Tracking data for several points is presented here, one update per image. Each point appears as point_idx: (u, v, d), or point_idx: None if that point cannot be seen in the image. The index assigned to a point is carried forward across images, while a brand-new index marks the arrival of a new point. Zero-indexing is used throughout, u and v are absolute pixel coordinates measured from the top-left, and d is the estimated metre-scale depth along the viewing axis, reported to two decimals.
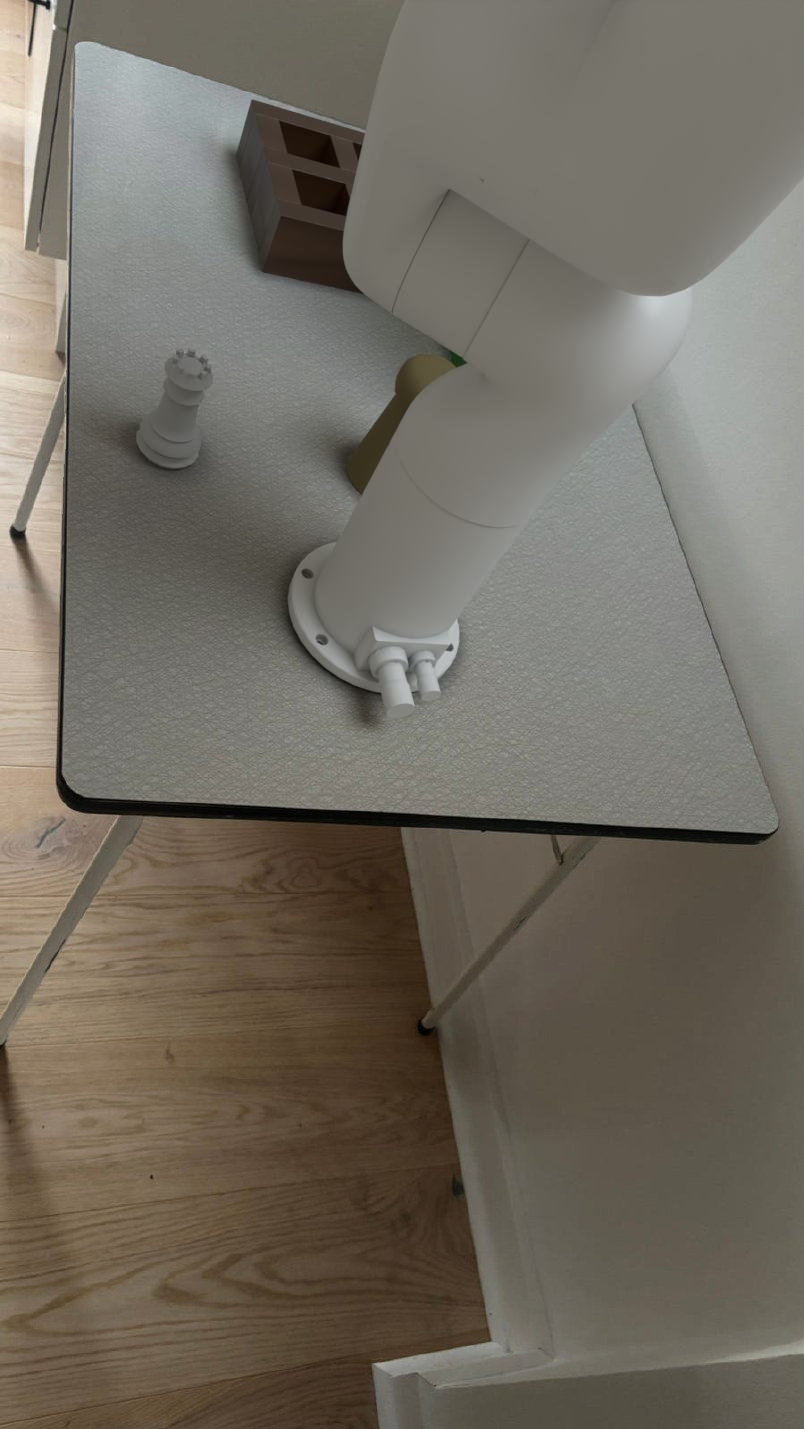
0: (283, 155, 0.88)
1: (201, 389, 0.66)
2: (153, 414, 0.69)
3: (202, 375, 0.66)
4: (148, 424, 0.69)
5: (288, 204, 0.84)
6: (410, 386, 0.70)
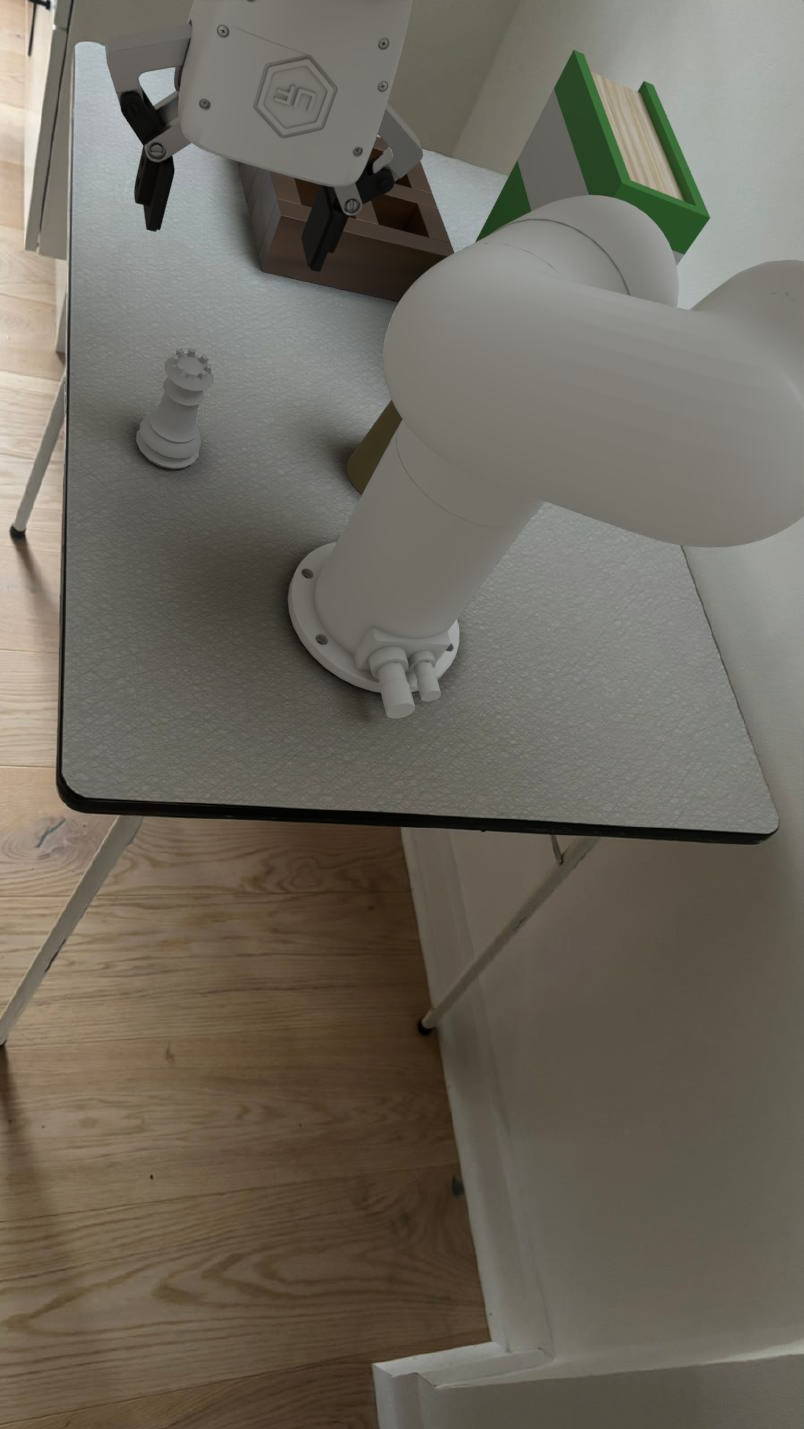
0: None
1: (201, 389, 0.66)
2: (153, 414, 0.69)
3: (202, 375, 0.66)
4: (148, 424, 0.69)
5: (288, 204, 0.84)
6: None
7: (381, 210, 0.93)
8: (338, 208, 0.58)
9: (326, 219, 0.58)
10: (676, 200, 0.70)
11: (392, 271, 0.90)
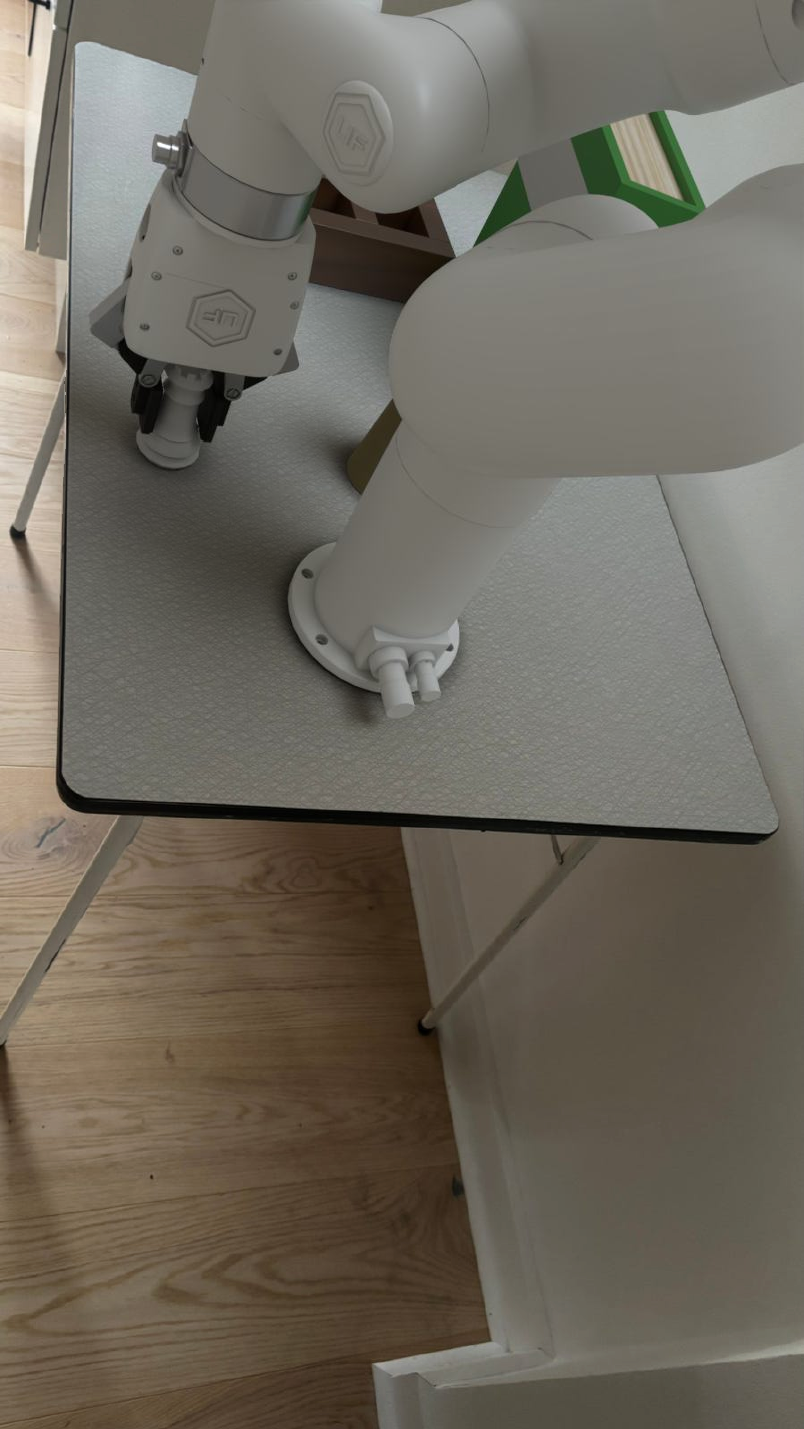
0: None
1: (201, 389, 0.66)
2: None
3: (202, 375, 0.66)
4: None
5: None
6: None
7: None
8: (222, 394, 0.67)
9: (212, 404, 0.68)
10: (676, 200, 0.70)
11: (392, 271, 0.90)
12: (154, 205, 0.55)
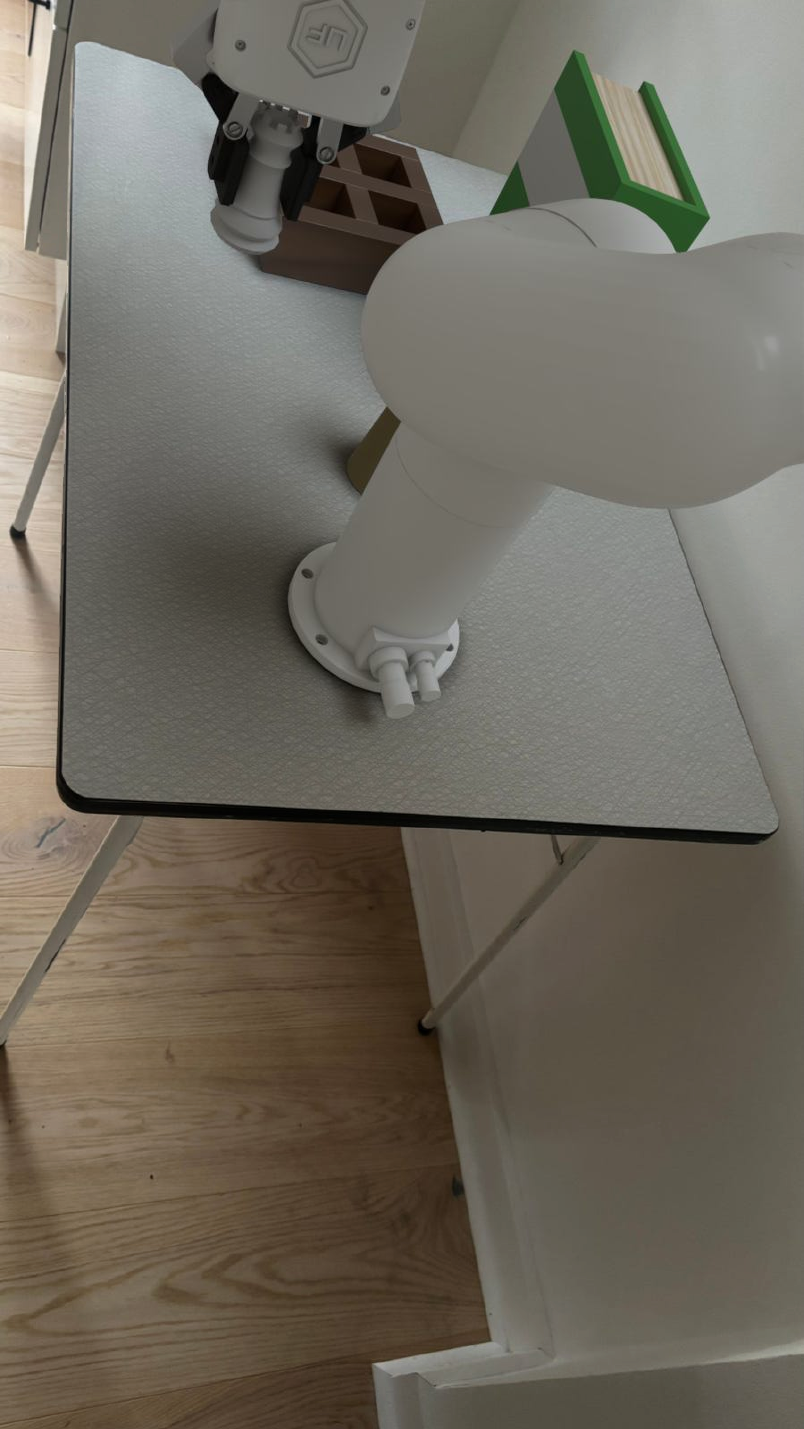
0: None
1: (291, 145, 0.58)
2: None
3: (293, 127, 0.57)
4: None
5: None
6: None
7: (381, 210, 0.93)
8: (313, 157, 0.59)
9: (301, 168, 0.59)
10: (676, 200, 0.70)
11: None
12: None
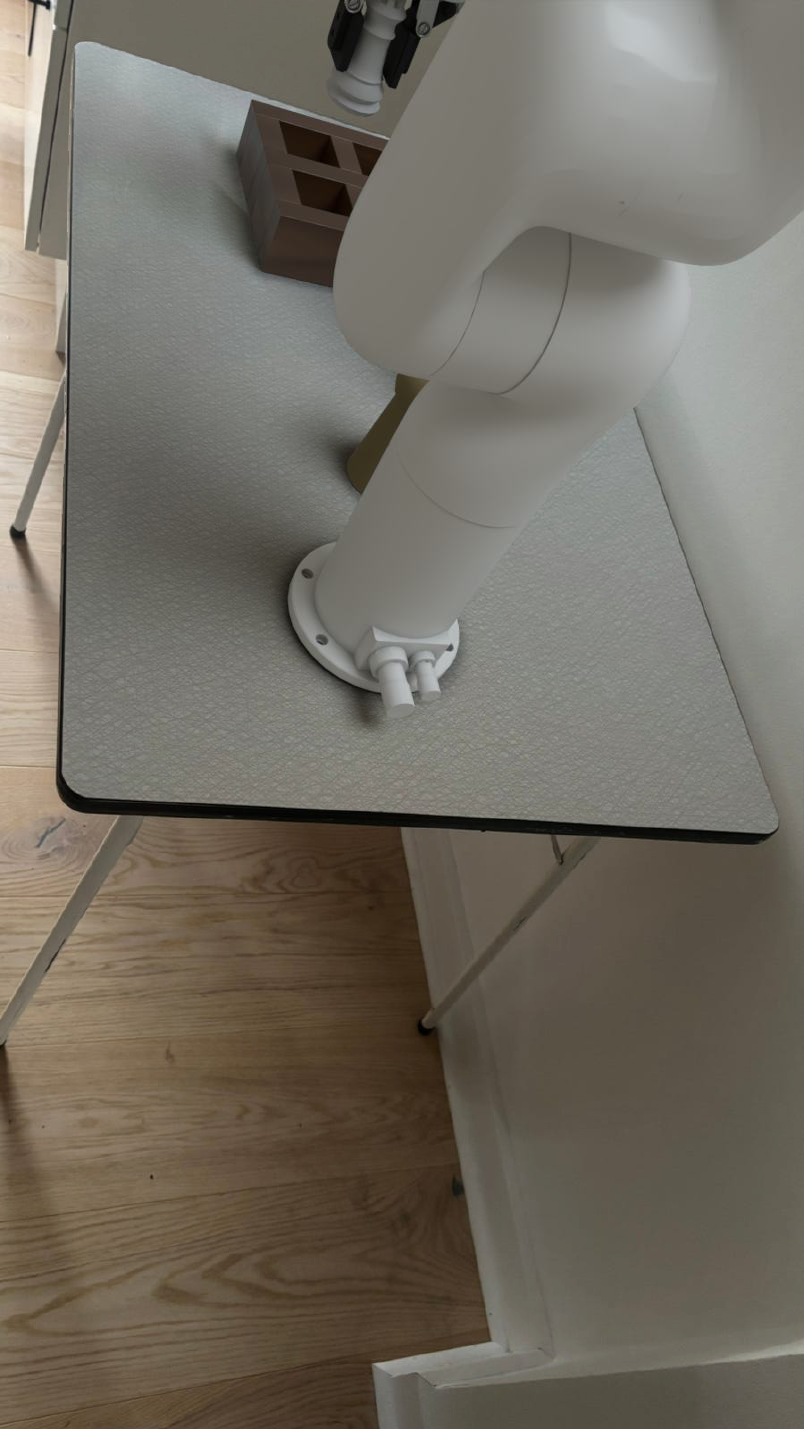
0: (283, 155, 0.88)
1: (397, 18, 0.72)
2: None
3: (400, 3, 0.72)
4: None
5: (288, 204, 0.84)
6: (410, 386, 0.70)
7: None
8: (412, 31, 0.74)
9: (403, 40, 0.74)
10: None
11: None
12: None
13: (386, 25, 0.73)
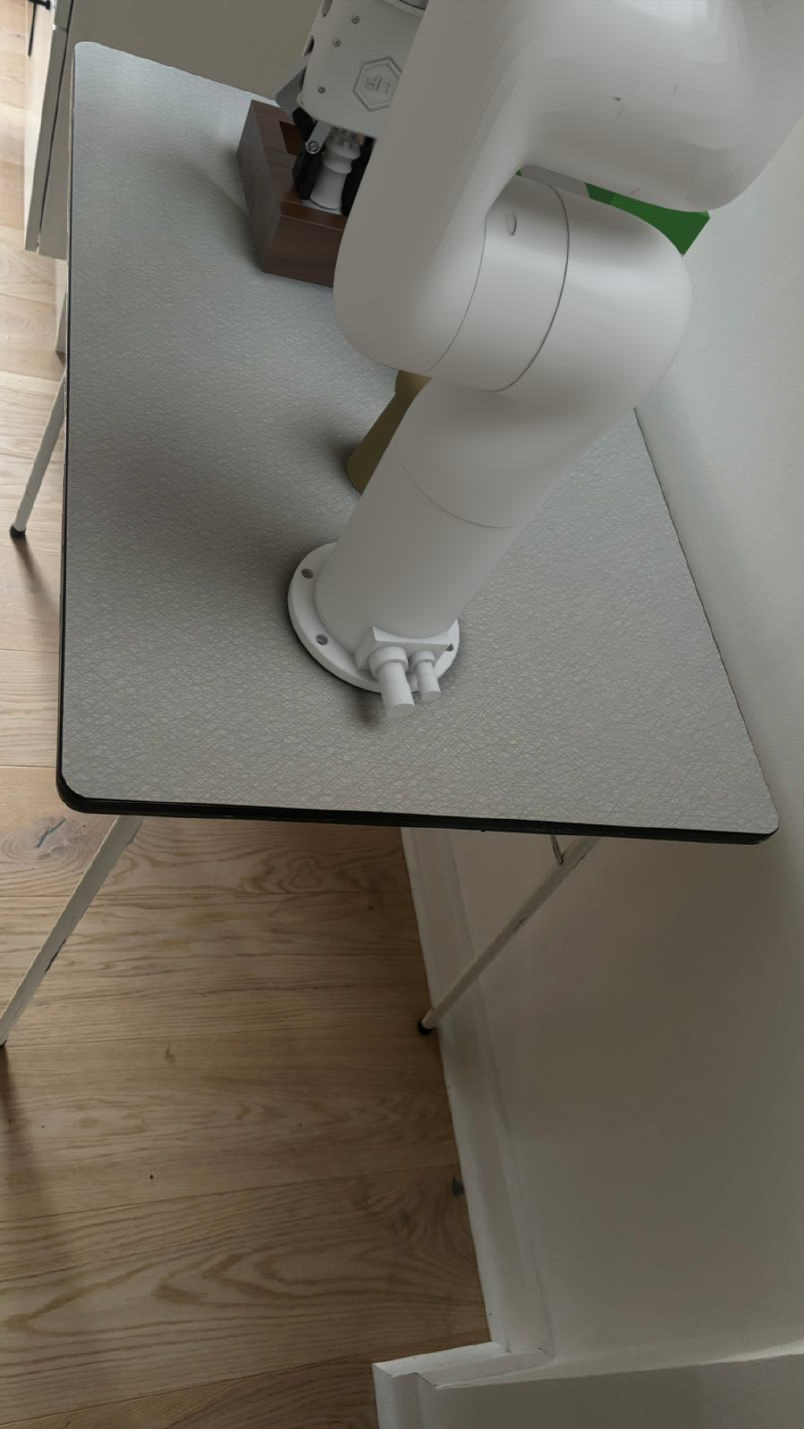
0: (283, 155, 0.88)
1: (352, 157, 0.83)
2: None
3: (354, 144, 0.83)
4: None
5: (288, 204, 0.84)
6: (410, 386, 0.70)
7: None
8: (366, 166, 0.85)
9: (358, 174, 0.85)
10: None
11: None
12: None
13: (343, 162, 0.84)
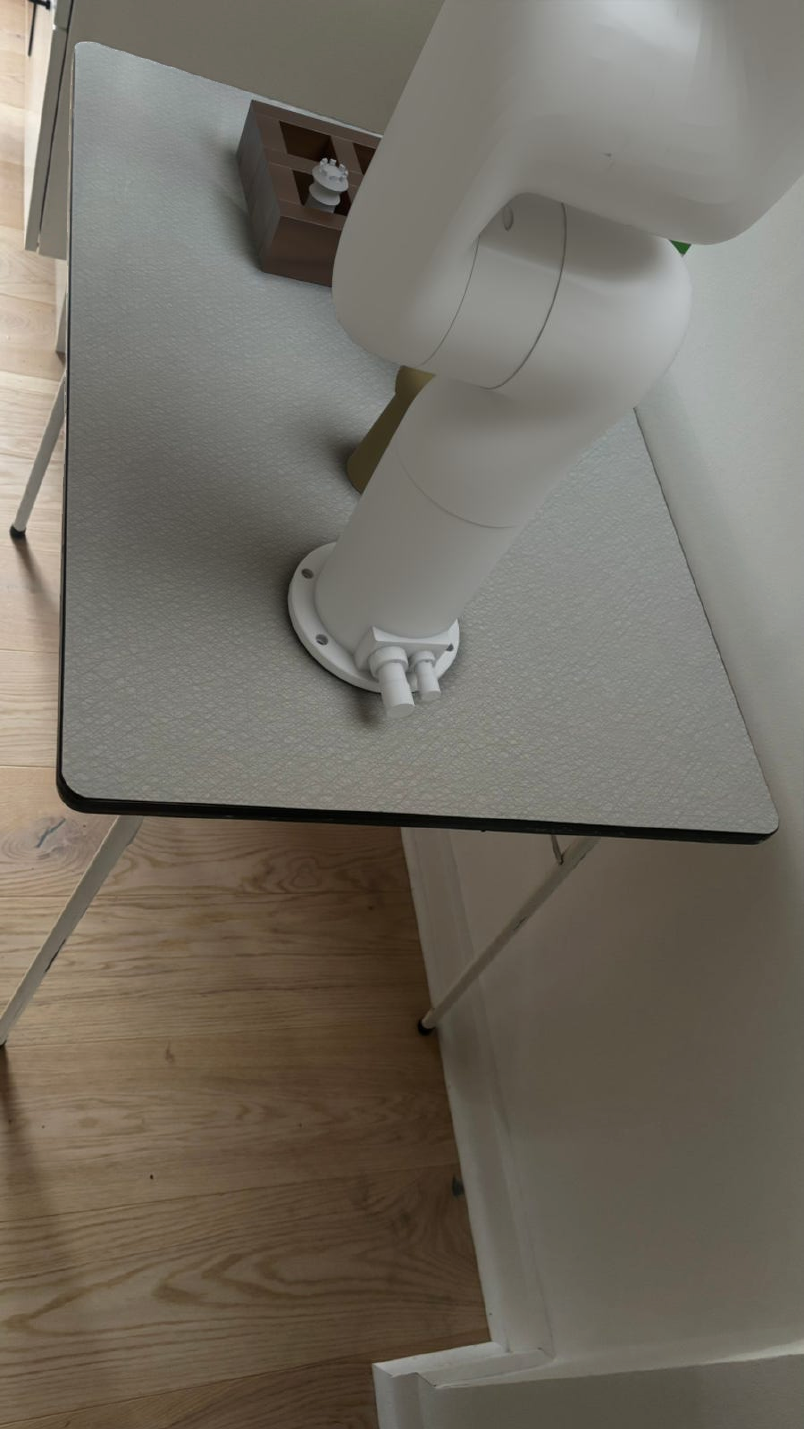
0: (283, 155, 0.88)
1: (340, 190, 0.85)
2: None
3: (342, 178, 0.85)
4: None
5: (288, 204, 0.84)
6: (410, 386, 0.70)
7: None
8: None
9: None
10: None
11: None
12: None
13: (331, 194, 0.86)
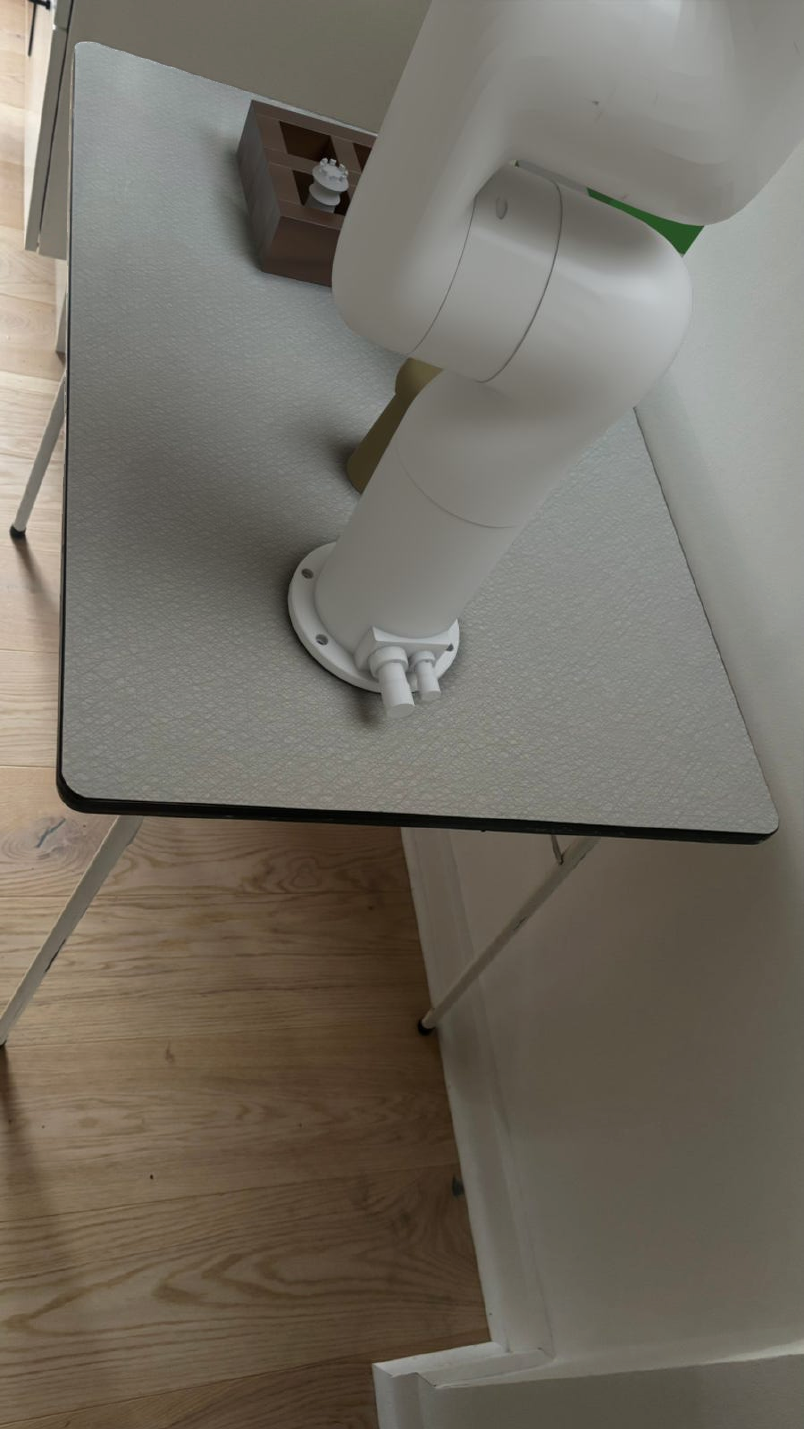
0: (283, 155, 0.88)
1: (340, 190, 0.85)
2: None
3: (342, 178, 0.85)
4: None
5: (288, 204, 0.84)
6: (410, 386, 0.70)
7: None
8: None
9: None
10: None
11: None
12: None
13: (331, 194, 0.86)
